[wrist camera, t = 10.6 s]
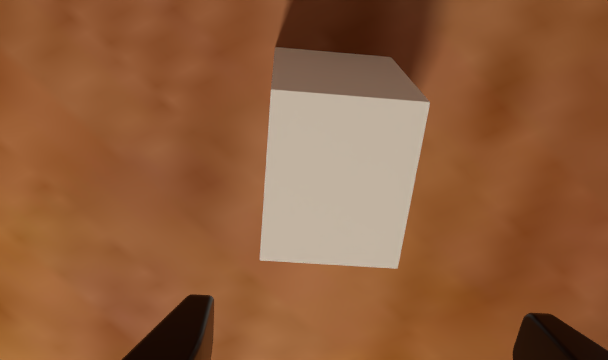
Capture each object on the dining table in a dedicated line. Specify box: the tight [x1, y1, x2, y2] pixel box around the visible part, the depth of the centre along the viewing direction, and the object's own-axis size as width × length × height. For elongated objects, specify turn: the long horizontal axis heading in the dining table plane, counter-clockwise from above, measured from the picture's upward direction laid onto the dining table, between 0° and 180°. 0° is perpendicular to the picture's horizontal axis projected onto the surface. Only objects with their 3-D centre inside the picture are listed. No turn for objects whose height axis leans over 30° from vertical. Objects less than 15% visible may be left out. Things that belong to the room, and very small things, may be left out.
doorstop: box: [260, 47, 430, 269], centre depth 17 cm, size 4×5×6 cm
